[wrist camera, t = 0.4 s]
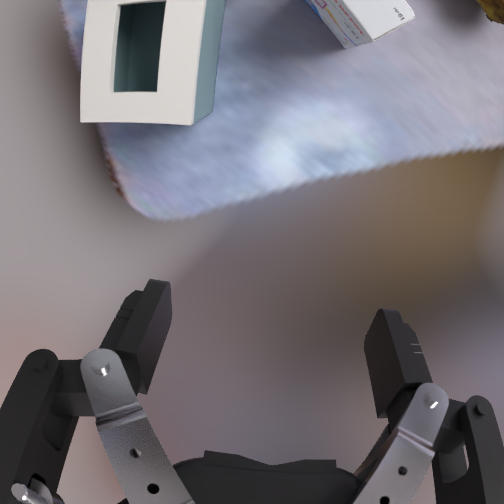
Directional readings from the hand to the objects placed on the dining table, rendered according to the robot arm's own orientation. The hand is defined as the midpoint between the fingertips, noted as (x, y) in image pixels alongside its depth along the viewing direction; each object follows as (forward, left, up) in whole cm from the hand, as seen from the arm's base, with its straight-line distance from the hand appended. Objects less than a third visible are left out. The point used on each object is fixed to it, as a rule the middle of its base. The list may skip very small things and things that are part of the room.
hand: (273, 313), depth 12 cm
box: (-10, -13, -27) cm, 32 cm away
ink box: (-17, +4, -28) cm, 33 cm away
